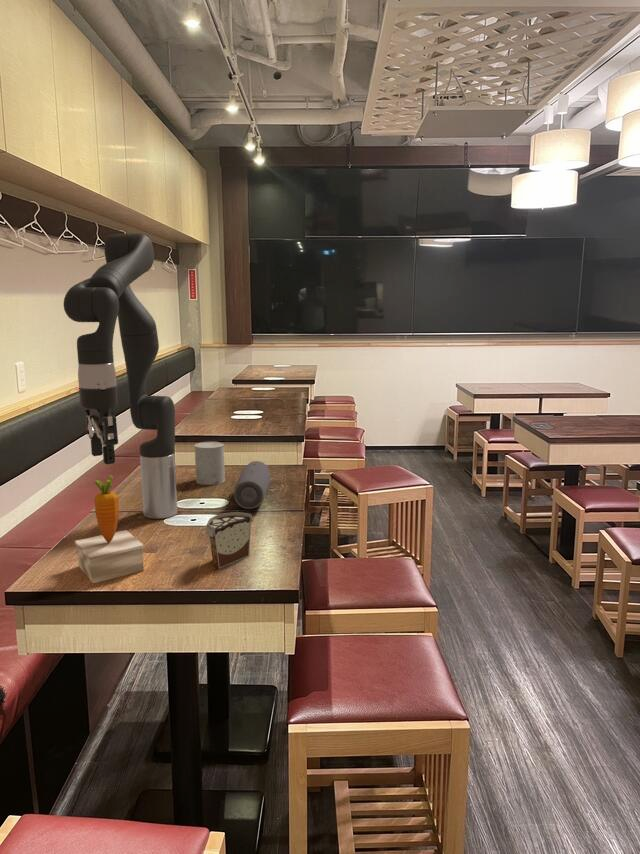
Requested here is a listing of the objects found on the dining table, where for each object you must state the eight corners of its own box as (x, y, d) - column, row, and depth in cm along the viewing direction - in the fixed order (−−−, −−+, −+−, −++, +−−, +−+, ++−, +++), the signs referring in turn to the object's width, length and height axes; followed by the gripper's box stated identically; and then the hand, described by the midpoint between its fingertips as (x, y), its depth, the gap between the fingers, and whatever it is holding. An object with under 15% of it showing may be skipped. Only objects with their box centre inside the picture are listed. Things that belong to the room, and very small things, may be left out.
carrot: (96, 547, 137) (92, 480, 134) (97, 539, 142) (94, 474, 139) (120, 545, 138) (116, 478, 136) (121, 537, 143) (117, 473, 140)
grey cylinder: (223, 484, 205) (221, 447, 202) (193, 485, 205) (191, 448, 202) (226, 476, 214) (225, 441, 212) (198, 477, 214) (197, 441, 212)
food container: (235, 547, 152) (234, 508, 150) (253, 554, 149) (252, 513, 147) (195, 564, 143) (193, 522, 141) (213, 571, 139) (212, 528, 137)
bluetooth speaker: (242, 489, 200) (241, 459, 198) (271, 489, 200) (271, 459, 198) (232, 513, 177) (231, 479, 175) (265, 513, 177) (264, 479, 175)
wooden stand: (76, 566, 142) (74, 540, 141) (127, 554, 149) (126, 529, 148) (91, 584, 133) (89, 557, 132) (145, 570, 140) (143, 545, 138)
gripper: (70, 382, 136) (76, 455, 140) (89, 389, 125) (95, 469, 128) (105, 379, 141) (110, 450, 144) (126, 386, 129) (131, 463, 132)
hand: (103, 459), depth 136 cm, fingers open, 8 cm apart
